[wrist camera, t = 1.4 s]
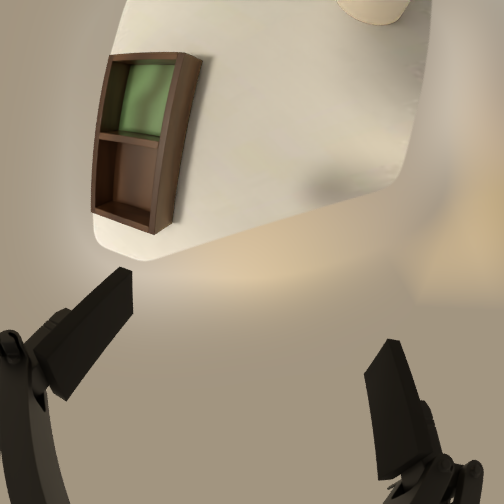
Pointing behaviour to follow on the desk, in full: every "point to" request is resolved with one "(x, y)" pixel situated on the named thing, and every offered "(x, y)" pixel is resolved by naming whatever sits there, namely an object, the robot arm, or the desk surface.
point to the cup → (374, 10)
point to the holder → (142, 137)
